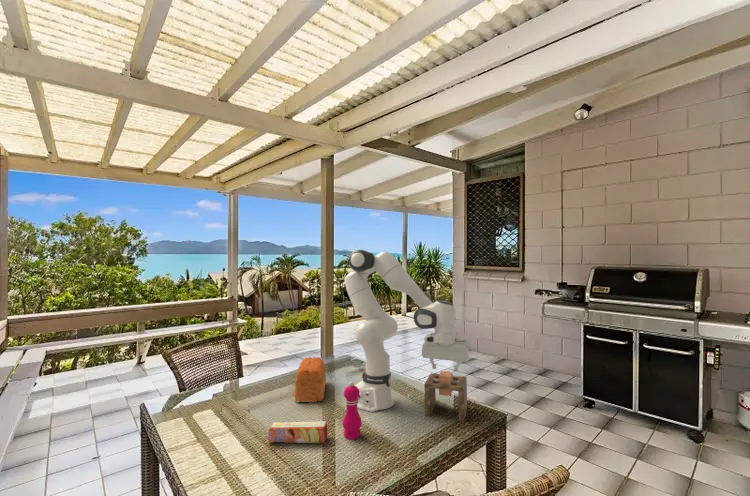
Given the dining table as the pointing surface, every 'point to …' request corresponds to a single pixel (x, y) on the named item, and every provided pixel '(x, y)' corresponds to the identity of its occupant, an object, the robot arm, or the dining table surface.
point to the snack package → (298, 432)
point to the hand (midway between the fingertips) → (445, 369)
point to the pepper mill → (351, 413)
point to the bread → (310, 380)
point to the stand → (456, 385)
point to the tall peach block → (445, 382)
